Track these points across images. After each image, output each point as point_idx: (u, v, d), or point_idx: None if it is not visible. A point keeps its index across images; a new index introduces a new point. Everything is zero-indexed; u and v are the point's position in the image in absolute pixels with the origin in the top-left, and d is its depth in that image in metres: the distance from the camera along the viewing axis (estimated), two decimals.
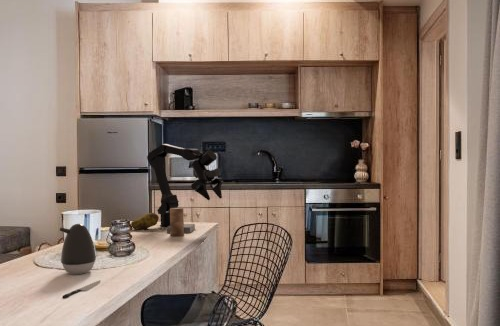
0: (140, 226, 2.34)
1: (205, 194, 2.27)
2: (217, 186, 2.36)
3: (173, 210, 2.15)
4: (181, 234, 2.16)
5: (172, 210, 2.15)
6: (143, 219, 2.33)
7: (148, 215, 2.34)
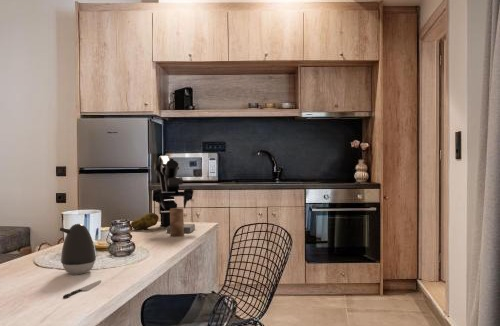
0: (140, 226, 2.34)
1: (161, 203, 2.23)
2: (184, 196, 2.27)
3: (173, 210, 2.15)
4: (181, 234, 2.16)
5: (172, 210, 2.15)
6: (143, 219, 2.33)
7: (148, 215, 2.34)
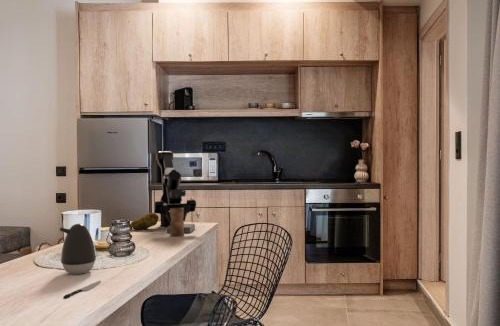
0: (140, 226, 2.34)
1: (167, 216, 2.17)
2: (183, 208, 2.21)
3: (173, 210, 2.15)
4: (181, 234, 2.16)
5: (172, 210, 2.15)
6: (143, 219, 2.33)
7: (148, 215, 2.34)
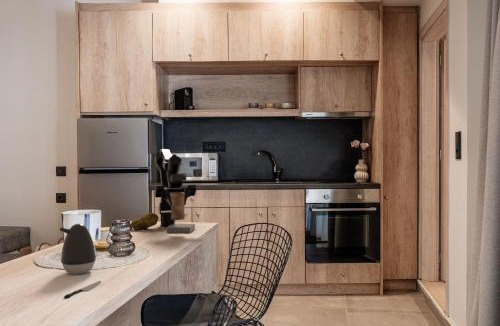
0: (140, 226, 2.34)
1: (168, 200, 2.19)
2: (184, 193, 2.23)
3: (174, 194, 2.17)
4: (182, 218, 2.18)
5: (173, 194, 2.17)
6: (143, 219, 2.33)
7: (148, 215, 2.34)
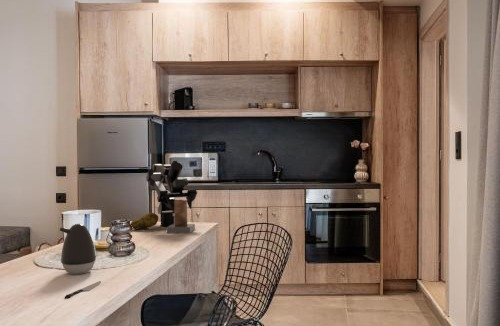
0: (140, 226, 2.34)
1: (168, 204, 2.28)
2: (188, 197, 2.34)
3: (178, 202, 2.27)
4: (185, 224, 2.29)
5: (177, 202, 2.27)
6: (143, 219, 2.33)
7: (148, 215, 2.34)
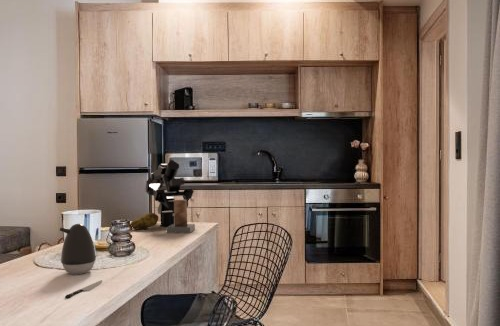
0: (140, 226, 2.34)
1: (165, 203, 2.32)
2: (185, 196, 2.38)
3: (178, 201, 2.27)
4: (185, 224, 2.29)
5: (177, 201, 2.27)
6: (143, 219, 2.33)
7: (148, 215, 2.34)
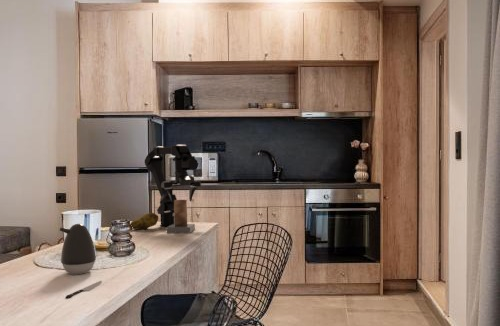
0: (139, 226, 2.34)
1: (170, 196, 2.36)
2: (191, 189, 2.40)
3: (178, 201, 2.27)
4: (185, 224, 2.29)
5: (177, 201, 2.27)
6: (143, 219, 2.33)
7: (148, 215, 2.34)
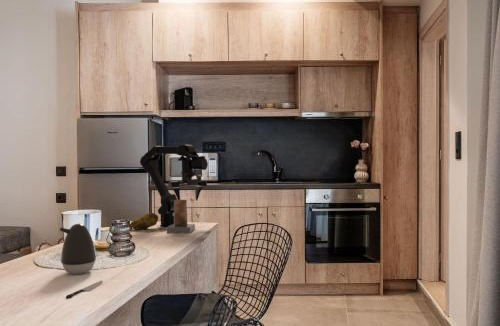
0: (139, 226, 2.34)
1: (177, 195, 2.39)
2: (197, 188, 2.43)
3: (178, 201, 2.27)
4: (185, 224, 2.29)
5: (177, 201, 2.27)
6: (142, 219, 2.33)
7: (147, 215, 2.34)
